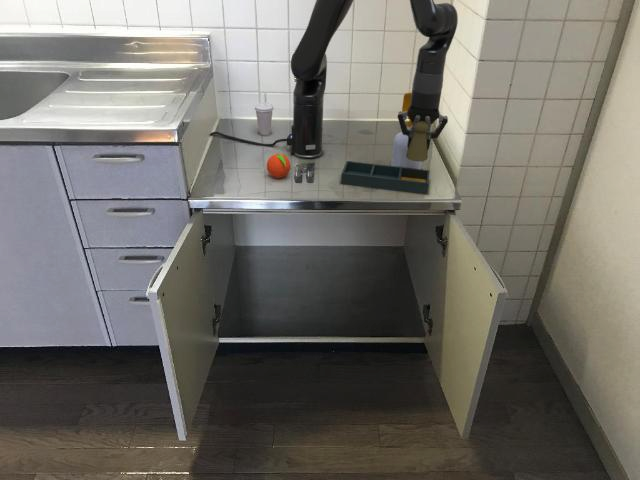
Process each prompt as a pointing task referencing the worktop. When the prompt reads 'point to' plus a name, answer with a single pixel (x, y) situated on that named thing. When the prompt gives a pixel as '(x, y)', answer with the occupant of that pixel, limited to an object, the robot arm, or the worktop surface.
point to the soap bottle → (403, 142)
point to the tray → (385, 177)
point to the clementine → (278, 165)
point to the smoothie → (264, 117)
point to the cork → (418, 143)
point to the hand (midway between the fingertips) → (417, 149)
